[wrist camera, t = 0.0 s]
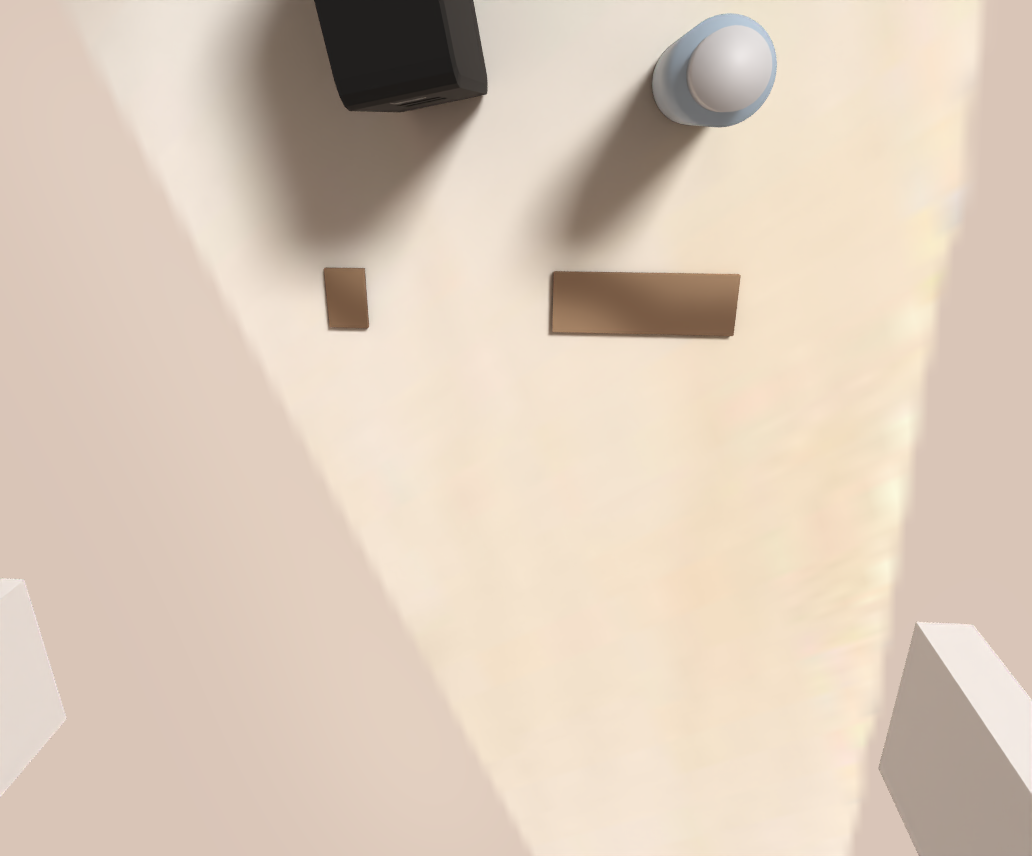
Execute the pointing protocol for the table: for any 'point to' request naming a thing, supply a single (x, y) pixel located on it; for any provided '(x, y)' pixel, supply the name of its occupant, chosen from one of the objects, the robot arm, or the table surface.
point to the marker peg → (716, 72)
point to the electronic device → (402, 52)
